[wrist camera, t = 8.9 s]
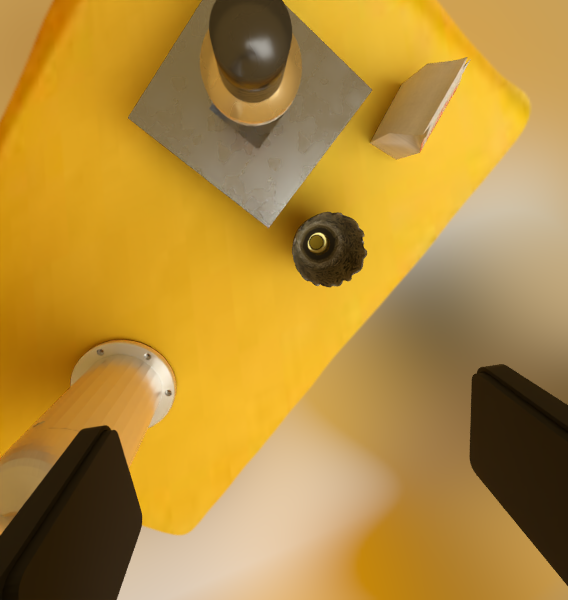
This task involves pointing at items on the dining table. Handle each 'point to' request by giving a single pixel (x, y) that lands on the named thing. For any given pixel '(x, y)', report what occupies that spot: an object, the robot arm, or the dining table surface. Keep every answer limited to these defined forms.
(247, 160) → the plate
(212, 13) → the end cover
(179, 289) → the dining table surface
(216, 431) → the dining table surface
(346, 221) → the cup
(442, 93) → the tan milk carton
